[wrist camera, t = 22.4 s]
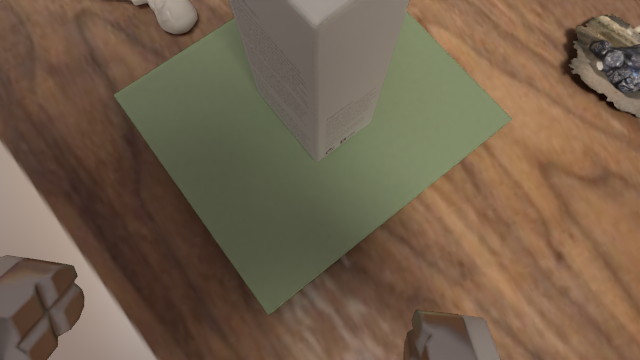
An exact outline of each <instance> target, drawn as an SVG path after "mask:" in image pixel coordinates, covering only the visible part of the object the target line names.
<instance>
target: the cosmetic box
mask: <svg viewBox="0 0 640 360" xmlns="http://www.w3.org/2000/svg"><path fill="white" fill-rule="evenodd" d="M409 1H410V0H229V3H230V6H231V9H232V12H233V15H234V19H235V22H236V25H237V28H238V31H239V34H240V37H241V40H242V43H243V46H244V49H245V53H246V56H247V58H248V61H249V65H250V68H251V71H252V74H253V77H254V81H255V84H256V87H257V90H258V92H259V93H260V95H261V96H262V97H263V98H264V100H265V101H266V102H267V103H268V104H269V106H270V107H271V108H272V109H273V111H274V112H275V113H276V114H277V115H278V117H279V118H280V119H281V120H282V122H283V123H284V124H285V125H286V126H287V128H288V129H289V130H290V131H291V132H292V134H293V135H294V136H295V137H296V139H297V140H298V141H299V142H300V143H301V145H302V146H303V147H304V148H305V149H306V151H307V152H308V153H309V154H310V155H311V157H312V158H313V159H314V161H315V162H319V161H320V160H321V159H323V158H324V157H325V156H327V155H328V154H329V153H331V152H332V151H334V150H335V149H336V148H338V147H339V146H340V145H342V144H343V143H344V142H345V141H347V140H348V139H349V138H351V137H352V136H353V135H355V134H356V133H357V132H359V131H360V130H361V129H363V128H364V127H366V126H367V125H368V124H369V123H370V122H371V120H372V117H373V113H374V110H375V107H376V104H377V101H378V98H379V95H380V92H381V88H382V85H383V82H384V79H385V76H386V73H387V70H388V67H389V64H390V60H391V57H392V54H393V51H394V48H395V45H396V42H397V39H398V35H399V32H400V29H401V26H402V23H403V20H404V17H405V13H406V10H407V8H408V4H409Z"/></svg>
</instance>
